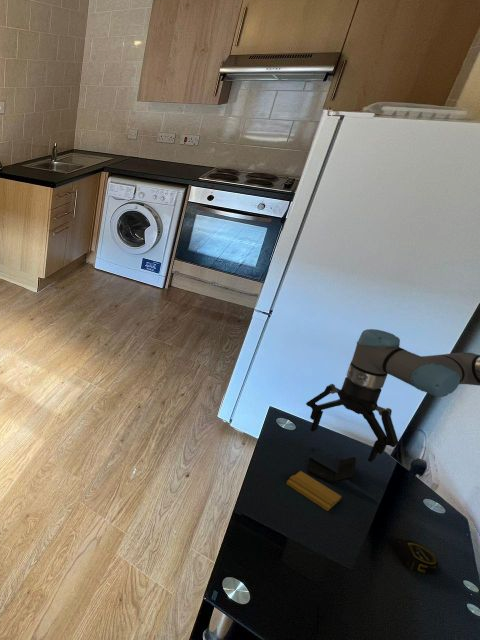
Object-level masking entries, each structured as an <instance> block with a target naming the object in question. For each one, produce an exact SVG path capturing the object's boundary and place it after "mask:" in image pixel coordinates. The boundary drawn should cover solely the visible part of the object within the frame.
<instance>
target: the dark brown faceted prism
mask: <svg viewBox="0 0 480 640" xmlns="http://www.w3.org/2000/svg"><path fill="white" fill-rule="evenodd" d="M356 462H357V458H356V457H355V456H352V457H349V458H345V459H342V460H339V465H338V472H336V471H334V470H332V469H330V468H329V467H327V466H325V465H323V464H322V463H320V462H319V461H318V460H315V459H313V458H310V462H309V466H308V470H307V473H308V474H309V475H311V476H314V477H315V478H318V479H320V480H321V481H324V482H326V483H328V484H331V485H334V483H338V482H342V481H346V480H350V479H353V478H354V477H355V470H356Z"/></svg>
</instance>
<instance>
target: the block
mask: <svg viewBox="0 0 480 640" xmlns="http://www.w3.org/2000/svg"><path fill="white" fill-rule="evenodd" d="M285 485H287V486H288V487H290V488H291V489H293V490H295V491H296V492H297V493H299V494H300V495H302V496H303V497H305V498H307V499H308V500H309V501H311V502H312V503H314V504H315V505H317V506H319V507H320V508H322V509H323V510H325V511H326V512H329V511H330V510H331V509H332V508H333V507H334V506H336V504H337V503H339V501H341V499H342V497H343V496H342V495H341V494H339V493H337V492H336V491H334V490H332V489H331V488H329V487H328V486H326V485H324V484H323V483H321V482H319V481H317V480H316V479H314V478H313V477H311V476H310V475H308V474H306V473H305V472H304V471H302V470H299V471H298V472H296V474H292V475H291V476H290V477H289V479H288V480H287V481H286V483H285Z"/></svg>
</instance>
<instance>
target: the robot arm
mask: <svg viewBox="0 0 480 640" xmlns="http://www.w3.org/2000/svg"><path fill="white" fill-rule="evenodd" d="M400 343H401V339H400V338H399V336H396V335H395V334H393V333H391V332H388V331H385V330H380V329H374V328H369V329H368V328H367V329H364V330H363V331H362V332H361V334H360V336H359V338H358V340H357V341H356V346H355V349H354V352H353V356H352V359H351V361H350V364H349V366H348V369H347V372H346V377H345V378H344V381H343V383H342V386H341V389H340V388H339V387H336V385H335V384H334V383H330V384H328V385H326V387H325V389H324V390H323V391H322V392H321V393H319V394H318V395H316V396H314V397H313V398H311V399H309V400H308V401H306V403H305V405H306V406H307V407H309V408H310V409H311V414H310V417H309V418H310V419H311V420H312V423H311V426H310V431H311V432H315V431H316V430H318V429H319V425H320V422H321V419H322V417H323V413H324V411H323V410H327V409H332V408H335V407H340V406H343V407H344V408H345V409H346V410H349V411H352V412H354V413H355V414H357V415H362V417H363V419H365V421H366V422H367V424H368V425H369V427H370V429H371V431H372V432H373V434H374V436H375V437H376V439H377V440H375V441H374V444H373V446H372V449H371V451H370V454H369V456H368V457H367V461H368V462H369V463H373V461H375V460H376V458H377V455H378V454H379V455H381V454H383V453H384V452H385V451H386V448H387V446H389V447H391V448H396V446H398V445H399V440H398V436H397V433H396V429H395V427H394V424H393V420H392V412H393V410H392V409H391V408H389V407H382V406H379V405H378V401H379V398H380V395H381V393H382V389H383V387H384V385H385V384H386V383H385V382H386V380H387V377H388V375H390V376H391V377H394V378H395V379H398V380H400V381H402V382H404V383H405V384H408V385H409V386H412V387H413V388H415V389H417V390H418V391H421V392H424V393H427V394H429V395H431V396H434V397H438V398H444V397H447V396H448V395H450V394H453V393H454V392H455V391H456V389H458V387H459V385H469V386H480V354H478V353H474V352H466V351H465V352H464V351H463V352H460V351H459V352H458V351H457V352H452V353H444V354H434V355H422V356H420V355H418V354H416V353H413V352H411V351H409V350H406V349H404V348H402V347H400ZM330 394H331V395H334V394H337V396H338V399H336V400H335V399H334V400H331V401H328V402H324V403H320V404H317V403H318V402H319V401H321V400H323V399H324V398H325V397H327V396H329V395H330ZM375 411H376V412H378V415H379V416H380V418H381V422H382V426H383V428H382V426H381V424H380V423H379V421H378V420H377V417H376V414H375V413H374V412H375ZM383 429H384V430H383Z"/></svg>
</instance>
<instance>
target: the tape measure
mask: <svg viewBox="0 0 480 640" xmlns="http://www.w3.org/2000/svg"><path fill="white" fill-rule="evenodd" d="M390 545H391V547H392V548H393V549H394V551H395V553H396V554H397V556H399V558H400V560H401V562H402V563H403V564H404V566H405V567H406V568H407V569H408V570H409V571H414V572H415V571H416V572H419V573H421V574H425V575H432V574H434V573H435V572H437V570H438V569H439V561H438V558H437V557H436V556H435V555H434V554H433V553H432V552H431V550H429V549H428V548H426V547H425V546H424V545H422V544H420V543H419V542H415V541H414V540H410V539H401V538H392V539H391V540H390Z"/></svg>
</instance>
